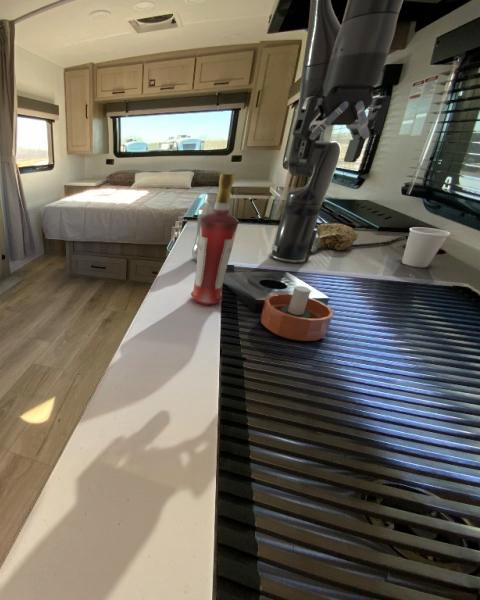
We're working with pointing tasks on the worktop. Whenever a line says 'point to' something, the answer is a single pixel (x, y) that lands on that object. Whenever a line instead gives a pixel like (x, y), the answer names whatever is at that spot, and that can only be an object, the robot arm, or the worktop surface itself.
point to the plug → (298, 303)
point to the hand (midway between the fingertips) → (327, 162)
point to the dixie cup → (423, 245)
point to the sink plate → (265, 287)
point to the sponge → (336, 235)
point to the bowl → (296, 319)
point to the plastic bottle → (203, 211)
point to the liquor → (215, 246)
